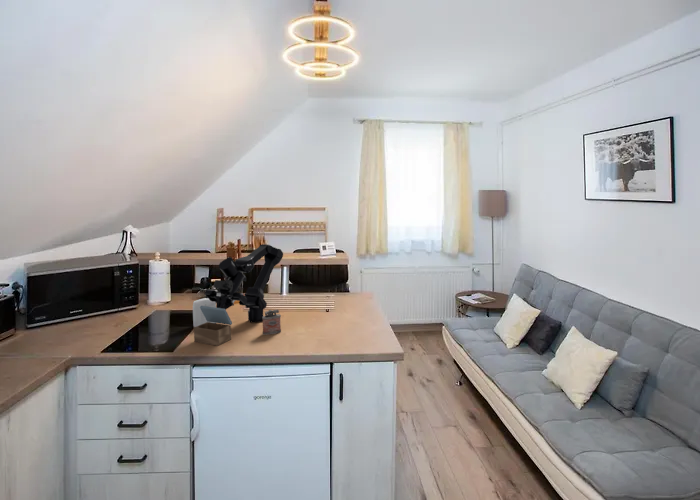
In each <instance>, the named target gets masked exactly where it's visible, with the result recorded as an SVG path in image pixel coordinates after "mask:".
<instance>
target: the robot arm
mask: <svg viewBox="0 0 700 500" xmlns="http://www.w3.org/2000/svg"><path fill="white" fill-rule="evenodd" d="M283 256H284V252H283V251H282V249H280V248H276V247H274V246H272V245H271V244H267V243H266V244H260V245H259V246H258V247H257V248H255V250H253V251H251V253H249V254H248V255H247V256H243V257H242V256H241V257H239V258H237V259H235V260H234V259H233V258H232V256H231V257H230V256H227V257H226V258H225V259H224V260H222V261H220V262H219V264H218V267H219V270H220V271H221V272H222V273H223V274H224V276H225V277H226V278H227V279H226V280H214V284H213V287H212V288H214V289H206V291H204V295H205V298H208V299H209V300H210V301H212V302H216V308H223V309H226V310H227V309H229V308H231V307H233V306H235V301H238V303H239V304H238V305H240V306H245V308H246V309H248V310H247V320H248V322H249V323H251V324H252V323H261V322H262V323H263V319H262V317H263V316H264V310H265V309H266V308H267V305H268V303H267V301H266V300H265V299H264V298H265V294H264V290H265V288H266V285H267V283H268V281H269V278H270V277H271V275H272V272H273V270H274V268H275V267H276V266H277V265H278V264H279V263H281V260H283ZM263 258H264V264H263V266H262V268H261V270H260V271H259V274H258V276H257V278H256V280H255V283H254V285H253V286H252V287H247V289H246V292H245V293H244V294H243V293H242V292H240V290H241V288H240V286H241V284H242V282H247V277H246V274H247V273H248V274H249V273H250V272H251V271H252V270H253V269H254V267H255V264H256V263H258V262H259V261H260V260H261V259H263ZM244 273H246V274H244ZM215 289H217V291H218V292H217V291H216V290H215Z"/></svg>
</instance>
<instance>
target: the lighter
mask: <svg viewBox="0 0 700 500" xmlns="http://www.w3.org/2000/svg"><path fill="white" fill-rule="evenodd" d="M281 316H282V315H281V314H280V310H279V309H273V310H272V309H269V310H268V311H267V310H265V312H264V315H263V317H262V319H263V322H262V335H263V336H264V335H265V336H266V335H275V334H279V333H282V328H281V326H282V325H281Z"/></svg>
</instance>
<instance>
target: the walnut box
mask: <svg viewBox="0 0 700 500" xmlns="http://www.w3.org/2000/svg"><path fill="white" fill-rule="evenodd" d="M231 326H232V324H231V325H228V324H221V323H211V322H206V323H204V324H201V325H199V326H196V327H194V326H193V339H194V342H195V343H198V344H205V345H211V346H216V347H218V346H221V345H223V344H226V343H228V342H229V341H231V340H232V332H231V331H232V328H231Z"/></svg>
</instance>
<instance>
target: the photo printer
mask: <svg viewBox="0 0 700 500" xmlns="http://www.w3.org/2000/svg"><path fill="white" fill-rule="evenodd" d="M216 305H217V302H212V301H210V300H209V299H208V298H207V297H204V298H200V299H197V300H194V301H193V303H192V321H193V324H192V325H193V328H194V327H196V326H199V325H201V324H204V323H206V322H208V321H207V320H206V318H205V316H204V315H203V313H202V311H201V309H200V306H207V307H215V308H216ZM211 323H214V322H211Z"/></svg>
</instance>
